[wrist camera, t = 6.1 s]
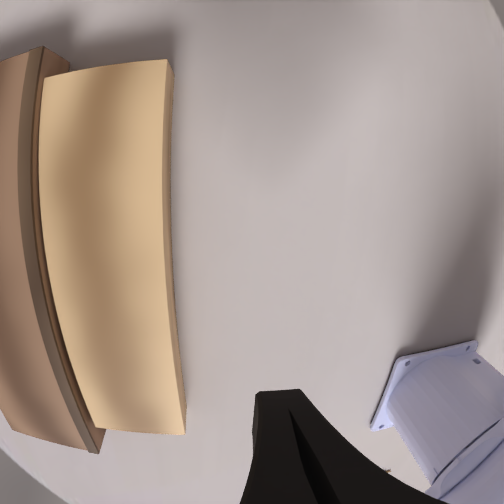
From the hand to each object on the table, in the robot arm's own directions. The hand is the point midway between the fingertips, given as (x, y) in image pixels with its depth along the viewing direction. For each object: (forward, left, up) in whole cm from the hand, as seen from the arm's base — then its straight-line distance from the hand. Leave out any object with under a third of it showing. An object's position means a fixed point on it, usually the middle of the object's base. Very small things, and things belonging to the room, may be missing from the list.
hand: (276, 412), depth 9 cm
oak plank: (+7, -2, -9) cm, 11 cm away
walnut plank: (+14, -1, -8) cm, 17 cm away
